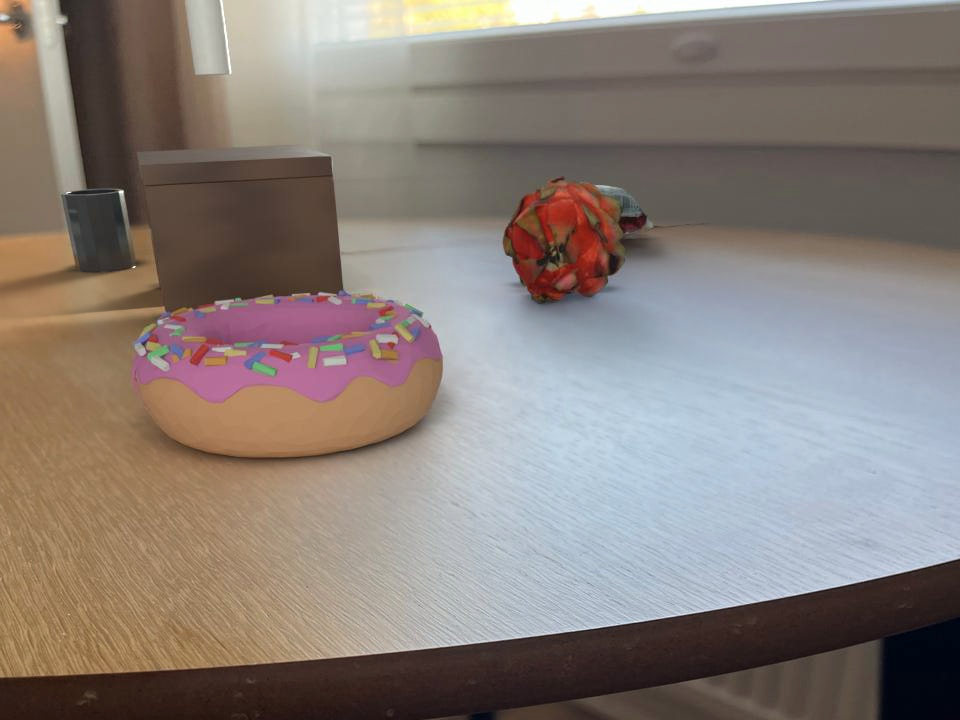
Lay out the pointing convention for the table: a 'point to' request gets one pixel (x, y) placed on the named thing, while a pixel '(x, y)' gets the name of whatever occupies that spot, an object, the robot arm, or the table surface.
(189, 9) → the marker
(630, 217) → the packaged food
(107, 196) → the pen cup
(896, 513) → the table surface
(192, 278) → the desk cabinet
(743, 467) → the table surface
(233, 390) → the donut
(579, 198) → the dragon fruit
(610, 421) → the table surface
